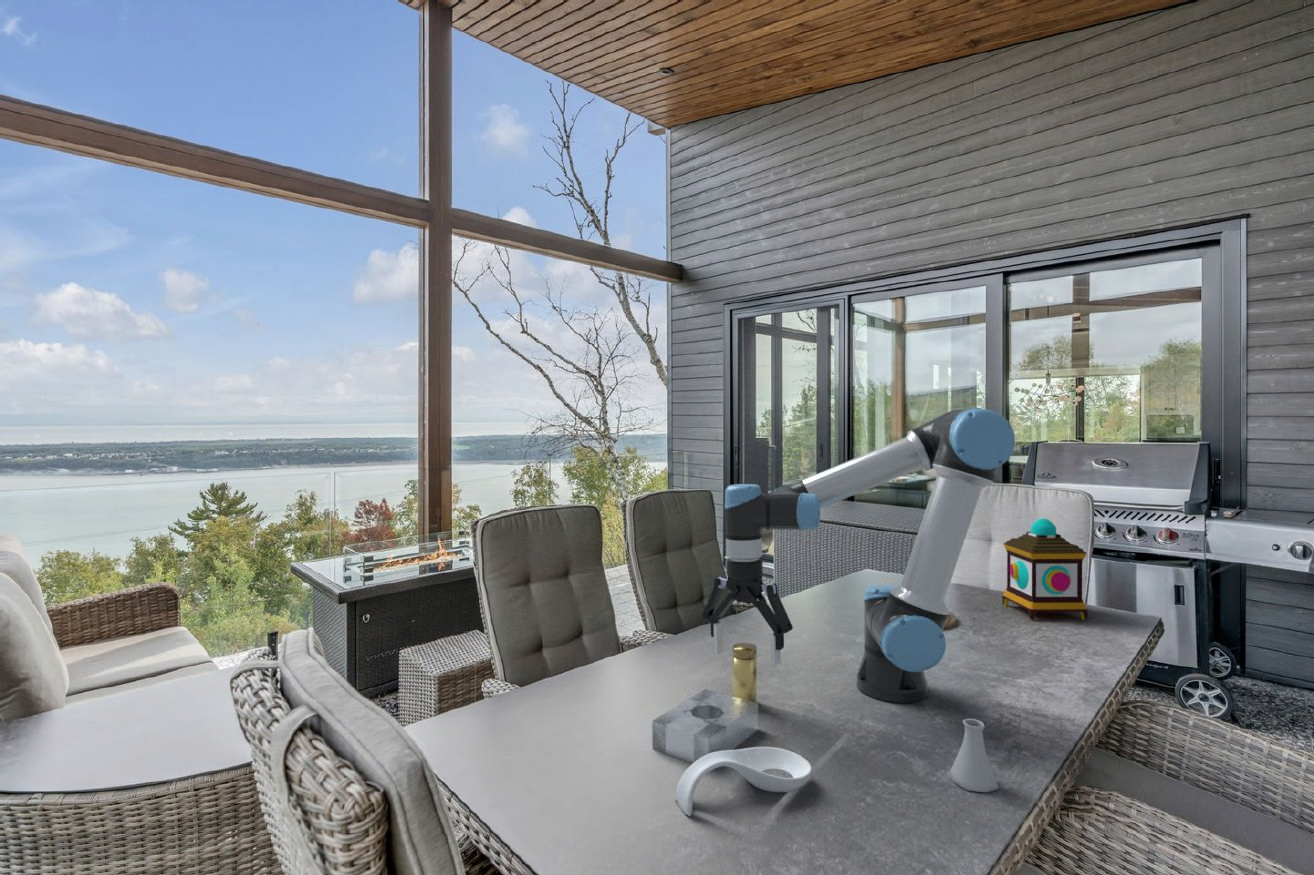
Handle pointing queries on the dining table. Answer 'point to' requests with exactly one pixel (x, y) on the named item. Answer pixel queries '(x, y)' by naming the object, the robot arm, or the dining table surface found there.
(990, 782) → the flask
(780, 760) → the spoon rest
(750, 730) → the bore housing
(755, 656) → the gold capped cylinder
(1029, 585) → the decorative lantern
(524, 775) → the dining table surface
